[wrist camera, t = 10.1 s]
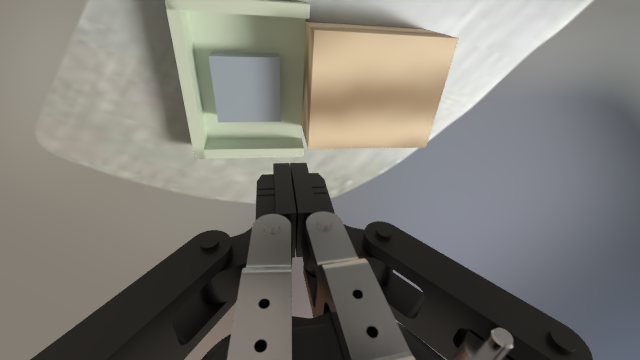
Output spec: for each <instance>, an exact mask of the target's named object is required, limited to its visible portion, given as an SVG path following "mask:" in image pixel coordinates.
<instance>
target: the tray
mask: <svg viewBox="0 0 640 360" xmlns="http://www.w3.org/2000/svg"><path fill="white" fill-rule="evenodd" d="M165 6H166V11H167V16H168V21H169V27H170V32H171V37H172V42H173V48H174V53H175V58H176V63H177V69H178V74H179V79H180V84H181V90H182V95H183V100H184V105H185V111H186V116H187V121H188V126H189V132H190V137H191V142H192V147H193V152H194V158H195V159H207V158H262V157H304V147H303V143H302V139H301V132H302V105H303V78H304V52H305V25H306V18H309V19H310V4H308V3H305V2H291V1H278V0H165ZM211 52H243V53H278V54H279V65H280V107H281V122H219V123H218V117H217V111H216V104H215V97H214V91H213V84H212V77H211V71H210V64H209V57H208V56H209V55H210V53H211Z"/></svg>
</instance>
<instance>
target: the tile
mask: <svg viewBox="0 0 640 360" xmlns="http://www.w3.org/2000/svg"><path fill="white" fill-rule="evenodd" d="M208 57H209V64H210V71H211V77H212V84H213V91H214V97H215V104H216V111H217V117H218V123H219V122H281V107H280V65H279V54H278V53H243V52H211V53H210V55H209V56H208Z"/></svg>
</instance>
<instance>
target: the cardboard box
mask: <svg viewBox="0 0 640 360" xmlns="http://www.w3.org/2000/svg"><path fill="white" fill-rule="evenodd" d="M458 39H459V38H455V37H452V36H448V35H445V34H441V33H437V32H434V31H430V30H426V29H414V28H398V27H382V26H366V25H351V24H335V23H319V22H306V25H305V52H304V78H303V105H302V128H303V132H304V136H305V139H306V143H307V146H308V149H337V148H412V147H426V145H427V142H428V139H429V135H430V132H431V129H432V125H433V122H434V119H435V115H436V112H437V109H438V105H439V102H440V99H441V95H442V92H443V89H444V85H445V82H446V79H447V75H448V72H449V69H450V65H451V62H452V59H453V55H454V52H455V49H456V45H457V42H458Z"/></svg>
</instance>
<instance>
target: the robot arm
mask: <svg viewBox="0 0 640 360" xmlns="http://www.w3.org/2000/svg"><path fill="white" fill-rule="evenodd" d="M273 171H274V174H269V175H261V177H260V178H259V179H258V181H257V197H256V221H255V222H254V223H253V226H252V228H251V229H249V230H248V231H246V232H245V233H243V234H240V235H237V236H234V237H230V236H229V235H228V234H227V233H225V232H222V231H218V230H211V231H206V232H203V233H200V234H198V235H197V236H195V237H194V238H192V239H191V240H190V241H188V242H187V243H186V244H184V245H183V246H182V247H180V248H179V249H178V250H176V251H175V252H174V253H172V254H171V255H170V256H168V257H167V258H166V259H164V260H163V261H162V262H160V263H159V264H158V265H156V266H155V267H154V268H152V269H151V270H150V271H148V272H147V273H146V274H144V275H143V276H142V277H140V278H139V279H138V280H136V281H135V282H134V283H132V284H131V285H130V286H128V287H127V288H126V289H124V290H123V291H122V292H120V293H119V294H118V295H116V296H115V297H114V298H112V299H111V300H110V301H108V302H107V303H106V304H104V305H103V306H102V307H100V308H99V309H97V310H96V311H95V312H94V313H92V314H91V315H90V316H88V317H87V318H86V319H84V320H83V321H82V322H80V323H79V324H78V325H76V326H75V327H74V328H72V329H71V330H69V331H68V332H67V333H65V334H64V335H63V336H62V337H60V338H59V339H57V340H56V341H55V342H54V343H52V344H51V345H49V346H48V347H47V348H45V349H44V350H43V351H41V352H40V353H39V354H37V355H36V356H35V357H34V358H32V359H31V360H184V359H185V358H186V357H187V356H188V354H189V353H190V352H191V351H192V350H193V349H194V348H195V347H196V346H197V344H198V343H199V342H200V341H201V340H202V339H203V338H204V337H205V335H206V334H207V333H208V332H209V331H210V330H211V329H212V328H213V327H214V326H215V325H216V324H217V322H218V321H219V320H220V319H221V318H222V317H223V316H224V315H225V313H226V312H227V311H228V310H229V309H230V308H231V307H232V306H233V305H234V303H235V302H236V300H237V303H236V308H235V314H234V320H233V326H232V333H231V334H230V335H228V336H227V337H225V338H224V339H222V340H221V341H220V342H218V343H217V344H216V345H215V346H214V347H213V348H212V349H211V350H210V351H209V352H207V354H206V355H205V356H204V357H203V358H202V360H445V359H444V358H442V357H441V356H440V355H438V353H439V354H441V355H442V356H443V357H445V358H446V359H447V360H593V358H592V354H591V352H590V350H589V348H588V346H587V345H586V344H585V342H584V341H583V340H582V339H581V338H580V336H579V335H578V334H576V333H575V332H574V331H573V330H572V329H570V328H569V327H567V326H566V325H564V324H562V323H561V322H559V321H557V320H555V319H554V318H552V317H550V316H548V315H547V314H545V313H543V312H542V311H540V310H538V309H537V308H535V307H533V306H531V305H530V304H528V303H526V302H524V301H523V300H521V299H519V298H518V297H516V296H514V295H512V294H511V293H509V292H507V291H505V290H504V289H502V288H500V287H499V286H496V285H495V284H493V283H492V282H490V281H488V280H487V279H484V278H483V277H481V276H480V275H478V274H476V273H475V272H472V271H471V270H469V269H468V268H466V267H464V266H462V265H461V264H459V263H457V262H455V261H454V260H452V259H450V258H449V257H447V256H445V255H444V254H442V253H440V252H438V251H437V250H435V249H433V248H431V247H430V246H428V245H426V244H425V243H423V242H421V241H419V240H418V239H416V238H414V237H412V236H411V235H409V234H407V233H406V232H404V231H402V230H400V229H399V228H397V227H395V226H394V225H391V224H389V223H386V222H379V221H378V222H372V223H370V224H368V225H367V227H366V228H365V230H363V229H357V228H352V227H349V226H346V225H344V224H343V222H342V221H341V219H340V218H339V217H338V216H337V215H335V213H334V210H333V206H332V203H331V201H330V197H329V194H328V190H327V188H326V184H325V180H324V179H323V178H322V177H321V176H320V175H319V174H318V173H309V172H308V168H307V164H306V163H290V164H289V163H278V164H273ZM295 248H296V256H297V257H303V262H304V266H303V275H304V279H305V284H306V288H307V292H308V297H309V301H310V305H311V310H312V314H313V318H310V319H308V318H301V317H293V316H292V280H291V279H292V274H291V272H292V271H291V270H292V258H293V257H295ZM393 270H395V271H396V272H398V273H400V274H401V275H402V276H404V277H405V278H407V279H408V280H410V281H411V282H413V283H414V284H416V285H417V286H418V287H420V289H421V290H422V291H423V292H421V291H420V290H418V289H417V288H415V287H414V286H412V285H411V284H409V283H408V282H406V281H405V280H403V279H402V278H401V277H399V276H398V275H396V274H395V273H393ZM395 319H396V320H397V321H398V322H400V323H401V324H402V325H401V324H400V323H398V322H396V320H395ZM404 326H405V327H404ZM408 329H409V330H408ZM413 333H414V334H413ZM417 336H418V337H419V338H420V339H419V338H418V337H417ZM422 340H423V341H424V342H425V343H424V342H423V341H422ZM426 343H427V344H428V345H429V346H430V347H432V348H433V349H434V350H436V351H437V352H438V353H436V352H435V351H434V350H432V348H430V347H429V346H428V345H427V344H426Z"/></svg>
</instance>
